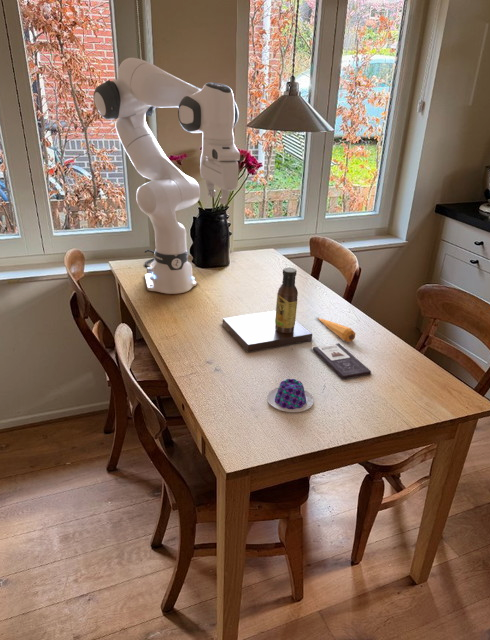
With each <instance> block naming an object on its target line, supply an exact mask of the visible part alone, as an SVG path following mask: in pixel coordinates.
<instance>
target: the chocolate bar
mask: <svg viewBox="0 0 490 640" xmlns="http://www.w3.org/2000/svg"><path fill="white" fill-rule="evenodd" d="M312 351H313V352H314V353H315V354H316V355H317V356H318V357H319V358H320V359H321V360H323V361H324V362H325V364H327V366H329V367H330V369H331V370H333V371H334V373H336V374H337V375H338V377H340V378H341V379H342V380H345V379H352V378H357V377H362V376H367V375H371V372H372V371H371V370H370V369H369V368H368V367H367V366H365V364H363V363H362V362H361V361H360V360H359V359H357V358H356V356H354V355H353V354H352V353H351V352H350V351H348V350H347V349H346V348H345V347H344V346H343V345H341V343H340V342H339V343H332V344H326V345H325V344H324V345H319V346H313V347H312Z"/></svg>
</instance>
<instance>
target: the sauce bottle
mask: <svg viewBox="0 0 490 640" xmlns="http://www.w3.org/2000/svg"><path fill="white" fill-rule="evenodd" d="M297 274H298V273H297V269H296V268H294V267H284V268H283V269H282V282H281V283H282V284H281V285H280V287H278V290H277V294H276V306H275V310H276V317H275V324H276V325H275V329H276V330H277V331H279V332H281V333H291V332H293V331H294V326H295V320H297V319H296V318H297V308H298V294H299V292H298V288H297V286H296V276H297Z"/></svg>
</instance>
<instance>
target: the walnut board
mask: <svg viewBox="0 0 490 640" xmlns="http://www.w3.org/2000/svg"><path fill="white" fill-rule="evenodd" d="M275 317H276V309H275V310H269V311H262V312H255V313H248V314H242V315H235V316H228V317H222V327H223V328H224V329H226V331H227V332H228V333H229V334H230V335H231V336H232V337H233V338H234V339H235V340H236V341H237V342H238V344H240V346H241V347H243V349H244V350H245V351H246V352H247V353H252V352H257V351H262V350H267V349H268V350H269V349H274V348H280V347H286V346H290V345H291V346H292V345H296V344H303V343H307V342H311V341H312V339H313V333H312V332H311V331H310V330H308V329H307V328H306V327H305V326H303V325H302V324H301V323H300V322H299V321H298V320H297V319H295V326H294V331H293V332H291V333H281V332H279V331H277V330H276V329H275V325H276V324H275Z"/></svg>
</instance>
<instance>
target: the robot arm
mask: <svg viewBox="0 0 490 640" xmlns="http://www.w3.org/2000/svg"><path fill="white" fill-rule="evenodd" d="M234 96H235V95H234V93H233V90H232V88H231V87H230V86H228V85H226V84H224V83H220V82H206V83H205V84H204V85H203V86H202V88H200V87H198V86H195V85H193V84H192V83H188V82H186V81H185V80H182V79H181V78H179V77H177V76H175V75H173V74H171V73H169V72H168V71H165V70H164V69H162V68H160V67H158V66H157V65H155V64H153V63H152V62H149V61H147V60H144V59H141V58H138V57H128V58H125V59H124V60H122V62H121V63H120V65H119V67H118V70H117V79H113V80H110V79H108V80H107V81H104V82H103V83H101V84H99V85H98V86H96V87H95V89H94V91H93V103H94V107H95V108H96V111H97V112H98V114H99V116H101V117H102V118H103V119H105V120H110V121H113V120H116V122H115V131H116V134H117V136H118V138H119V141H120V144H121V145H122V147H123V149H124V151H125V153H126V155H127V156H128V158H129V160H130V161H131V162H130V163H132V165H133V167H134V168H135V170H136V172H137V173H138V174H139V175H140V176H142V177H143V178H146V179H147V180H149V181H148V182H145V183H143V184H142V185H140V186H139V187H138V188H137V190H136V195H135V198H136V203H137V206H138V208H139V209H140V211H141V212H142V213H144V214H145V215H146V216H147V217H148V218H149V220H150V223H151V224H152V227H153V228H152V229H153V231H154V232H153V233H154V244H155V245H154V246H155V249H154V251H153V250H151V249H146V250H144V253H146V254H147V252H150V253H152V254H153V258H150V259H148V260H147V261H145V262H144V265H145V267H146V274H144V280H145V285H146V289H147V291H150V292H158V293H161V294H166V295H167V294H169V295H173V294H174V295H176V294H182V293H187V292H189V291H190V290H192V289H193V288H194V287H196V286H197V281H196V280H195V277H194V276H193V265H192V263H191V262H190V261H188V260H189V250H188V247H187V229H186V228H185V226H184V225H183V224H182V223H180V222H178V219H177V215H176V213H177V211H181V210H185V209H189V208H191V207H193V206H194V205H195V204H197V203H198V202H199V200H200V198H201V188H200V185H199V183H198V182H197V180H196V179H195V178H193V177H191V176H189V175H187V174H185V173H184V172H183V171H182V170H180V169H179V168H178V167H177V166H176V165H175V164H174V163H173V162H172V161H171V160H170V159H169V158H168V156H167V155H166V153H165V152H164V150H163V149H162V147H161V146H160V144H159V142H158V140H157V139H156V137H155V136H154V134H153V132H152V130H151V129H150V127H149V125H148V123H147V121H146V120H147V119H146V117H152V116H153V115H154V111H155V110H156V108H161V109H162V108H177V117H178V122H179V124H180V126H181V127H182V129H183V130H184V131H185V132H188V133H192V134H201V133H202V136H201V155H200V162H199V163H200V166H199V174H200V178H202V179H203V180H205V183H206V188H207V196H208V197H210V198H215V197H216V190H215V186H216V187H217V188H220V192H221V195H220V197H219V203H220V204H221V205H228V202H229V200H228V199H229V196H230V193H231V191H236V190H237V188H238V185H239V184H238V183H239V170H240V169H239V168H240V167H239V161H240V160H241V152H240V151H239V150H238V148H237V147H236V144H235V135H234V128H235V127H236V125H237V123H238V121H239V117H240V116H239V115H240V112H239V108H238V104H237V103H236V101H235V97H234ZM148 263H150V264H149V265H148Z"/></svg>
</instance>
